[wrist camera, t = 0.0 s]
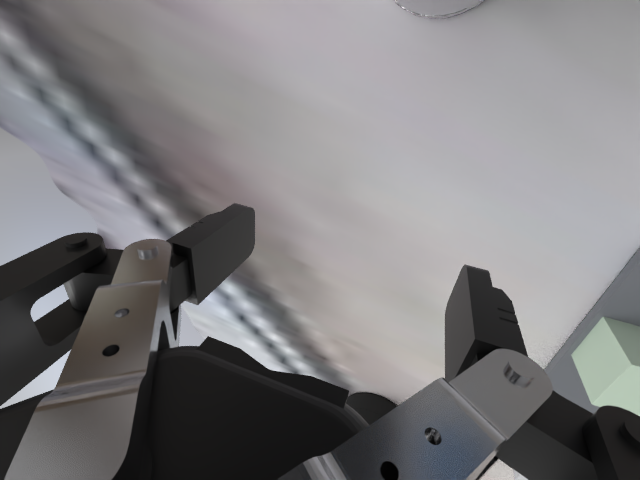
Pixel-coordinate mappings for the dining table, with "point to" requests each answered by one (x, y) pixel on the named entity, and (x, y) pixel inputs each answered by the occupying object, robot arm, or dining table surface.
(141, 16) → the dining table surface
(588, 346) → the block
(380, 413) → the pen holder
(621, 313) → the strip
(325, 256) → the dining table surface
